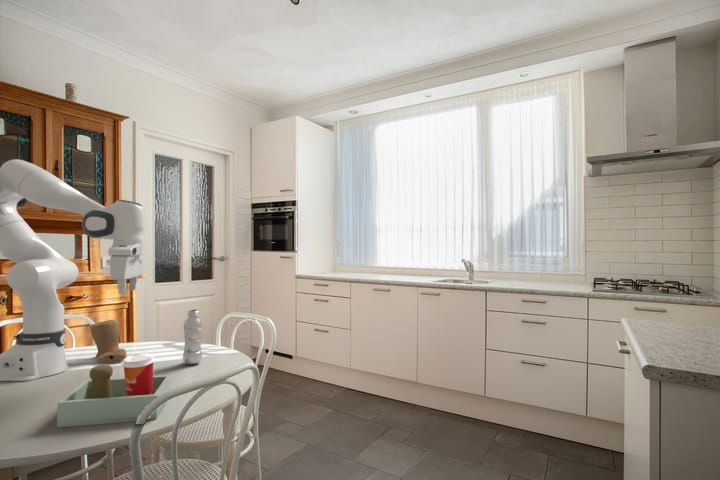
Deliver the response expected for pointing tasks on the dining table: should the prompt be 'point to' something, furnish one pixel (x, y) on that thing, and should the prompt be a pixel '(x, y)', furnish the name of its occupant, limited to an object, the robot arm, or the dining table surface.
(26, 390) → the dining table surface
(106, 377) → the cork
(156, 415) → the pale green tray
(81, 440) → the dining table surface
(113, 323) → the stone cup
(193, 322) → the plastic bottle
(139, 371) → the paper cup
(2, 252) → the robot arm
